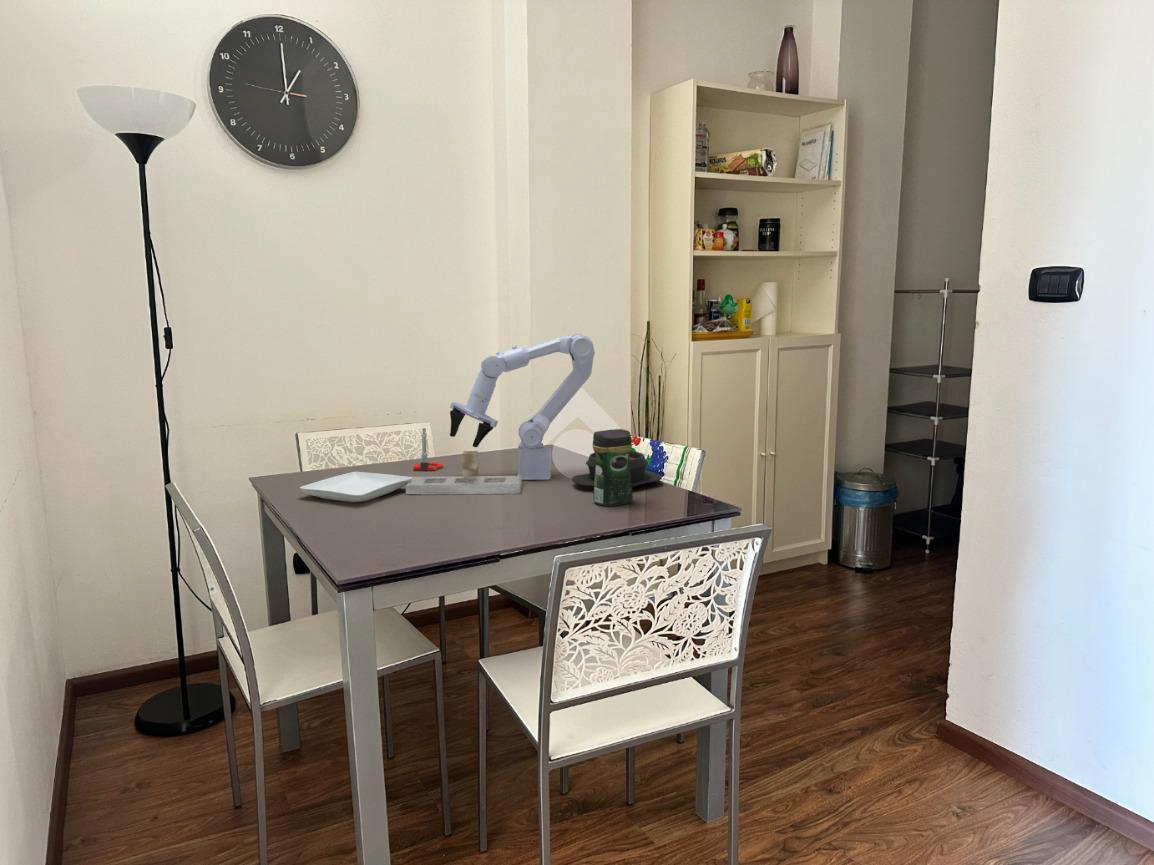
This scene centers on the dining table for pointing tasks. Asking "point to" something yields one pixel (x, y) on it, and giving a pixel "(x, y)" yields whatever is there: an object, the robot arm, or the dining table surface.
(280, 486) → the dining table surface
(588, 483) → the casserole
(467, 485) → the grey slotted board
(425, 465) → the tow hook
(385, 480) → the salad plate
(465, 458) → the peg
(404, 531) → the dining table surface
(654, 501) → the dining table surface
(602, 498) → the coffee jar
